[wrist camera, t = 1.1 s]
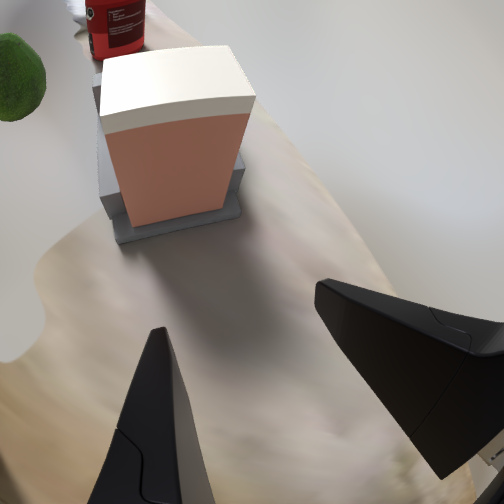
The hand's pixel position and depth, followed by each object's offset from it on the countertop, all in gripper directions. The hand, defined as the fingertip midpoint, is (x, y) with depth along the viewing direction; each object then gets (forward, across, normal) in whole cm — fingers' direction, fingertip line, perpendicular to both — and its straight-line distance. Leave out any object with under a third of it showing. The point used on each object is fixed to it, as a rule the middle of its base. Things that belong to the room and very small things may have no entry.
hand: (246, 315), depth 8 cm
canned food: (+36, +4, -18) cm, 41 cm away
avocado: (+29, +16, -11) cm, 35 cm away
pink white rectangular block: (+16, 0, 0) cm, 16 cm away
